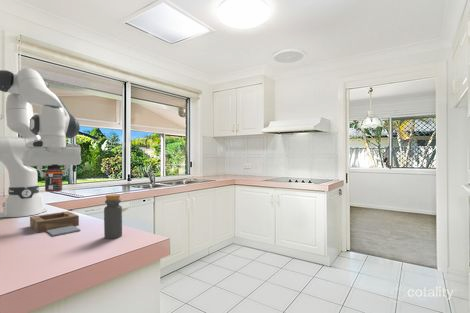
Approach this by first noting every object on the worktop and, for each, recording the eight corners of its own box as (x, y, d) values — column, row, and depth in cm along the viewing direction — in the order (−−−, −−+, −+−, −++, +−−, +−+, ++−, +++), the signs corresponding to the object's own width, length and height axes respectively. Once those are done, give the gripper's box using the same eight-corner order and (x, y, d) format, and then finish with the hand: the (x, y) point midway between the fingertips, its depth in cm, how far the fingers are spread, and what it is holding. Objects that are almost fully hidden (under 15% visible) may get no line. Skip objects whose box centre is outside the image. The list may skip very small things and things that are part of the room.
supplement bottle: (53, 192, 107) (53, 164, 107) (41, 192, 108) (40, 164, 108) (65, 190, 112) (65, 163, 112) (54, 190, 114) (53, 163, 114)
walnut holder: (30, 226, 110) (30, 216, 110) (68, 219, 120) (68, 211, 120) (38, 232, 100) (37, 222, 100) (78, 225, 111) (78, 215, 111)
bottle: (109, 234, 98) (109, 193, 98) (125, 234, 98) (124, 193, 97) (101, 239, 92) (100, 196, 92) (117, 239, 92) (117, 196, 92)
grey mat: (46, 231, 102) (46, 230, 102) (72, 226, 108) (72, 225, 108) (52, 236, 95) (52, 234, 95) (80, 231, 102) (80, 229, 102)
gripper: (78, 144, 120) (78, 174, 120) (21, 143, 105) (21, 177, 105) (83, 143, 116) (83, 175, 116) (24, 142, 100) (24, 178, 101)
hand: (53, 176), depth 110 cm, fingers closed on supplement bottle, 6 cm apart
